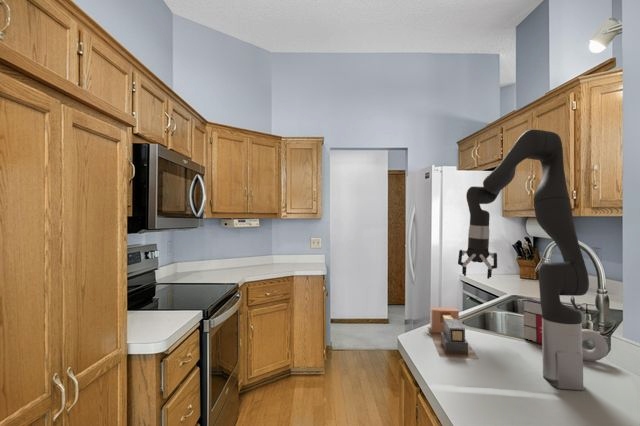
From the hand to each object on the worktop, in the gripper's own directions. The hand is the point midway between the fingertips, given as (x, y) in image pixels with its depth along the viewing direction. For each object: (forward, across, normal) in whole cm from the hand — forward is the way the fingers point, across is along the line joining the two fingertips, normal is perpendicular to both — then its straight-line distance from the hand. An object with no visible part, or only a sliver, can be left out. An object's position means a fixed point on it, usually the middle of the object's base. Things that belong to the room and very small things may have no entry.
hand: (476, 277), depth 144 cm
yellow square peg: (+16, -7, -22) cm, 28 cm away
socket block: (+22, -11, -7) cm, 25 cm away
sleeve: (+20, -6, -26) cm, 33 cm away
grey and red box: (+21, +23, -4) cm, 31 cm away
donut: (+20, +34, -17) cm, 43 cm away
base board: (+22, -8, -19) cm, 30 cm away
